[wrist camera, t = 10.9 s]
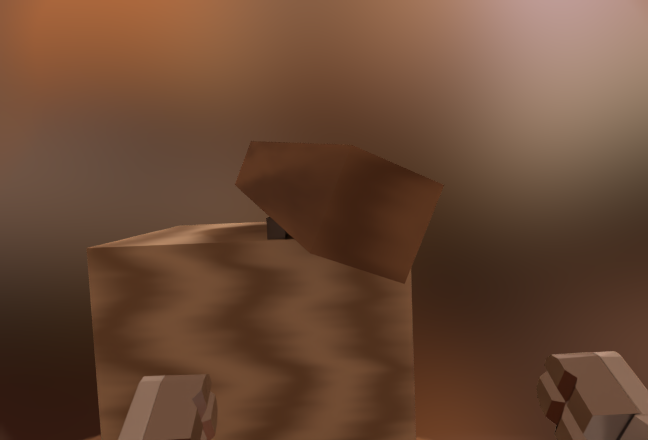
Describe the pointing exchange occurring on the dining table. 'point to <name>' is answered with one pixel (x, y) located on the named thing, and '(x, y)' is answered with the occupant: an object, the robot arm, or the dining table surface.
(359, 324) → the zigzag patterned box
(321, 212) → the walnut block
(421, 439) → the dining table surface
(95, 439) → the dining table surface
